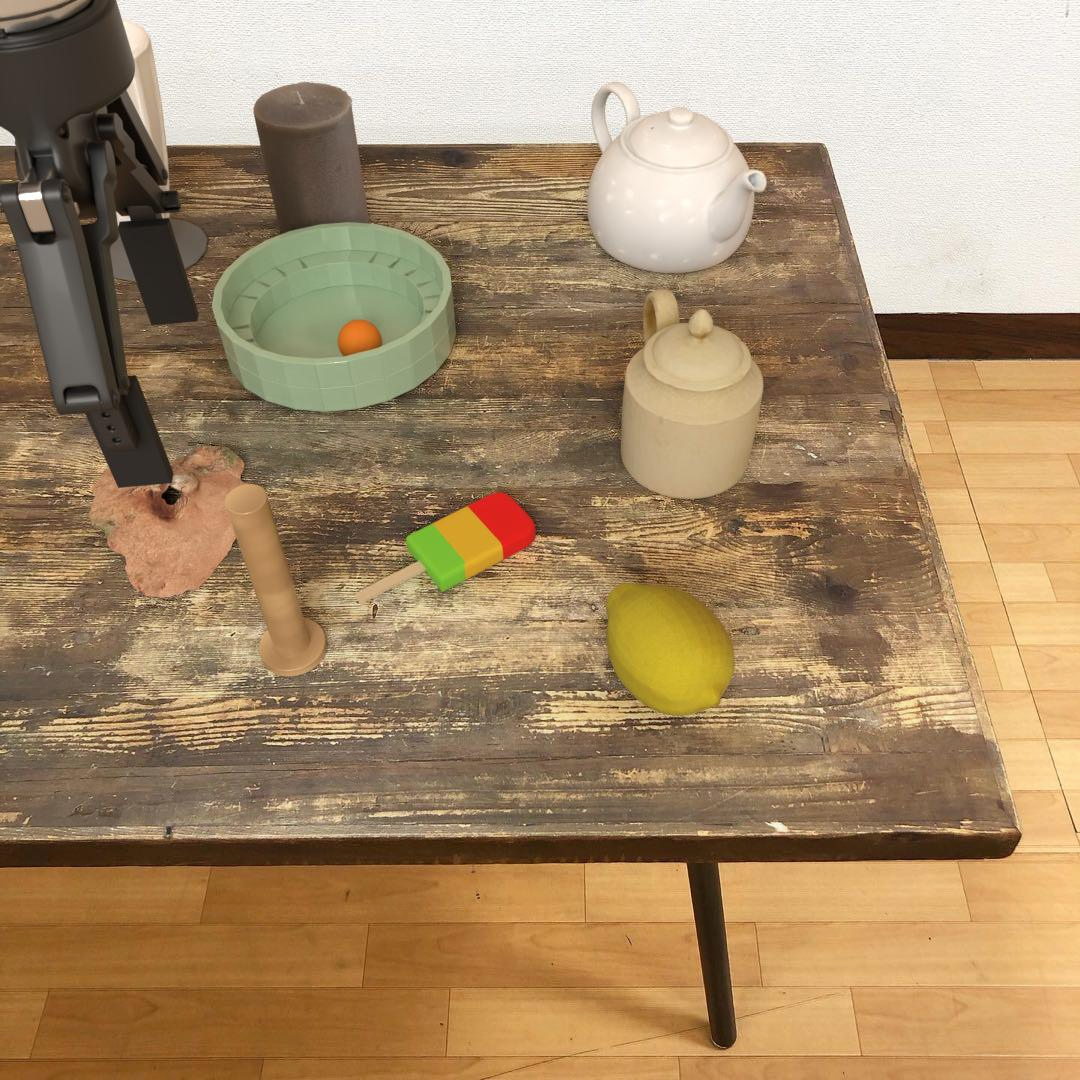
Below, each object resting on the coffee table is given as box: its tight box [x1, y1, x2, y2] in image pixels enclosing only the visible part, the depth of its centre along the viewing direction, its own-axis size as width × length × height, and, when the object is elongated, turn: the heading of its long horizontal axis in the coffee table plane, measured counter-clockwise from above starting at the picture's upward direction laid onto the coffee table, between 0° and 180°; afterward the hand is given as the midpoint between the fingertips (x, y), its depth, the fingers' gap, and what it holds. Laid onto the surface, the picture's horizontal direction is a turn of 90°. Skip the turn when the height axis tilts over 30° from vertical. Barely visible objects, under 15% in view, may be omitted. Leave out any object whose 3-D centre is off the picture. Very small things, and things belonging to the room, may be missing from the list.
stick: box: [225, 483, 328, 678], centre depth 72 cm, size 5×5×16 cm
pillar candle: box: [253, 81, 370, 235], centre depth 110 cm, size 10×10×15 cm
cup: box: [110, 18, 209, 283], centre depth 105 cm, size 12×12×22 cm
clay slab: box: [88, 445, 249, 599], centre depth 85 cm, size 15×13×3 cm
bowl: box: [211, 222, 457, 413], centre depth 100 cm, size 22×22×6 cm
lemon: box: [605, 582, 736, 717], centre depth 73 cm, size 11×8×8 cm
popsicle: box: [354, 491, 537, 604], centre depth 83 cm, size 6×15×2 cm, turn 125°
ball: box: [338, 320, 382, 356], centre depth 98 cm, size 4×4×4 cm
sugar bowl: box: [620, 288, 764, 500], centre depth 86 cm, size 15×11×15 cm
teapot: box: [586, 81, 768, 274], centre depth 108 cm, size 19×18×14 cm
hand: (162, 394), depth 59 cm, fingers open, 13 cm apart
